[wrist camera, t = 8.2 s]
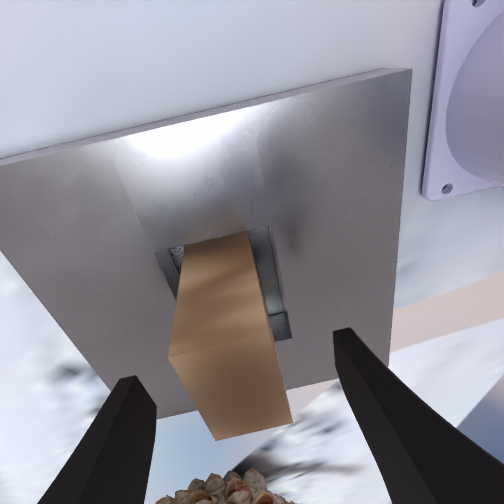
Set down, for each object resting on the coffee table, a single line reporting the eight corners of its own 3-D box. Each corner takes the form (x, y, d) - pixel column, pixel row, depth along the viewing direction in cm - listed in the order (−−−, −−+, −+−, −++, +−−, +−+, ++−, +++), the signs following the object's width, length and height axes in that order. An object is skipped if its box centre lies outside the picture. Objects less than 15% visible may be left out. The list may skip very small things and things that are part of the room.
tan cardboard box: (245, 224, 14) (269, 333, 9) (265, 300, 17) (292, 422, 11) (185, 239, 15) (168, 357, 9) (214, 312, 17) (215, 440, 11)
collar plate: (383, 68, 12) (412, 68, 10) (373, 341, 20) (388, 367, 18) (-18, 162, 12) (-56, 179, 10) (142, 394, 20) (136, 424, 19)
